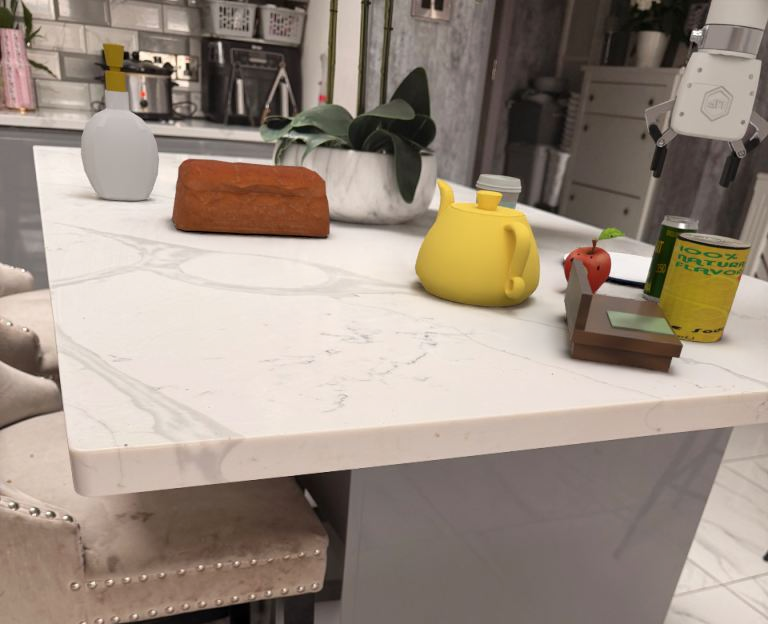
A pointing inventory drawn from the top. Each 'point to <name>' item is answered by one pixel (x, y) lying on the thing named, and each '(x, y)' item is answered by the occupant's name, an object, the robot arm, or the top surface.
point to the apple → (593, 260)
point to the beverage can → (702, 284)
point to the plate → (627, 268)
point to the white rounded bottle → (119, 141)
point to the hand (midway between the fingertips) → (689, 181)
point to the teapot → (479, 252)
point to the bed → (617, 327)
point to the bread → (250, 199)
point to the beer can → (665, 253)
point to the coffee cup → (501, 188)
